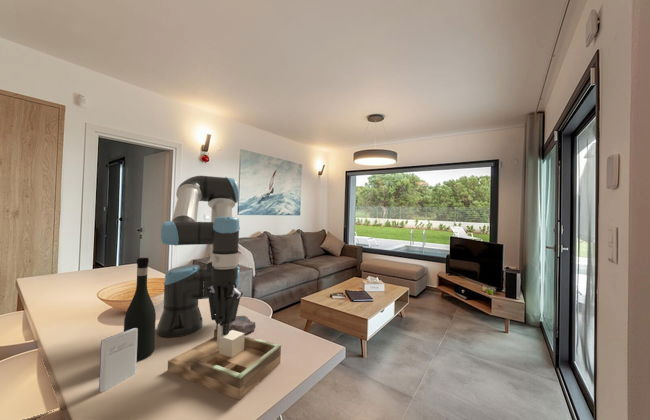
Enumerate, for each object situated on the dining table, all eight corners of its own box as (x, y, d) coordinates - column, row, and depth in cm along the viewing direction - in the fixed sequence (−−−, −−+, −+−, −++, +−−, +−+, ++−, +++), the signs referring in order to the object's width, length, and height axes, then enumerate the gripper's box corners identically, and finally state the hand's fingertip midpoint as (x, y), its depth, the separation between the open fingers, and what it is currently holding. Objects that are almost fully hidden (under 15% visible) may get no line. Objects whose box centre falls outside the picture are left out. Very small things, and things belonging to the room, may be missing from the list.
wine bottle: (116, 359, 78) (120, 258, 79) (142, 346, 86) (146, 255, 86) (134, 365, 75) (138, 261, 76) (160, 351, 83) (164, 257, 83)
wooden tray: (167, 371, 73) (168, 350, 73) (215, 344, 88) (216, 327, 88) (239, 402, 62) (240, 377, 62) (280, 365, 78) (281, 345, 78)
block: (219, 353, 78) (219, 336, 78) (231, 345, 82) (232, 329, 82) (231, 357, 75) (232, 340, 76) (244, 349, 80) (244, 333, 80)
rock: (247, 337, 93) (247, 324, 93) (219, 334, 95) (219, 321, 96) (258, 328, 101) (258, 315, 101) (232, 325, 103) (232, 313, 104)
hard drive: (98, 391, 64) (100, 340, 65) (132, 372, 72) (134, 327, 72) (102, 392, 64) (104, 341, 64) (136, 374, 71) (138, 328, 72)
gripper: (199, 266, 79) (196, 345, 79) (231, 271, 74) (228, 355, 73) (219, 262, 86) (216, 335, 86) (249, 267, 81) (247, 344, 80)
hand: (222, 344), depth 79 cm, fingers closed
